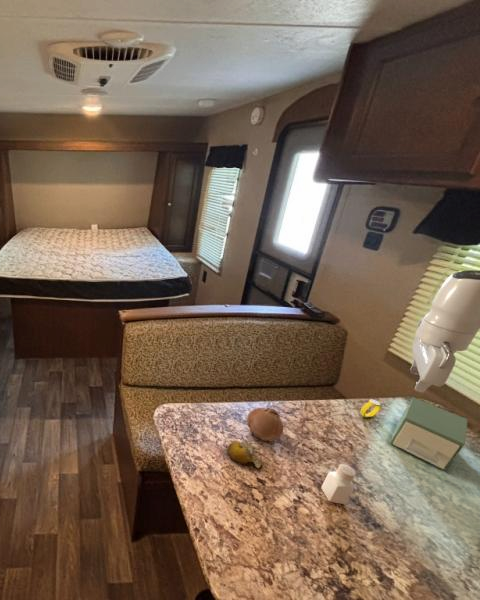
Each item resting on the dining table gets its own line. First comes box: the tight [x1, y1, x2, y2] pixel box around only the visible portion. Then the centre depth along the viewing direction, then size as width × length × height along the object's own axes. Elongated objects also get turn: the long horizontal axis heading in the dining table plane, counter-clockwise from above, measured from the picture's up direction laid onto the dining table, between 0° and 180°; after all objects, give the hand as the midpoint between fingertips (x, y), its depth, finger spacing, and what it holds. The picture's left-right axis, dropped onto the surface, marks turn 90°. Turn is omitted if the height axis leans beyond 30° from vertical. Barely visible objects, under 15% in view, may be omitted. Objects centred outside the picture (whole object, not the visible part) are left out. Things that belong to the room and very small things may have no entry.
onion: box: [246, 407, 284, 442], centre depth 94 cm, size 10×9×10 cm
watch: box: [360, 398, 382, 418], centre depth 104 cm, size 6×3×6 cm, turn 101°
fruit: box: [226, 440, 262, 469], centre depth 87 cm, size 8×8×4 cm
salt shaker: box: [321, 463, 357, 505], centre depth 76 cm, size 4×4×10 cm
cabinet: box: [389, 396, 468, 471], centre depth 93 cm, size 15×12×10 cm
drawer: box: [392, 422, 460, 470], centre depth 90 cm, size 18×10×8 cm, turn 129°
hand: (416, 381), depth 82 cm, fingers open, 8 cm apart
